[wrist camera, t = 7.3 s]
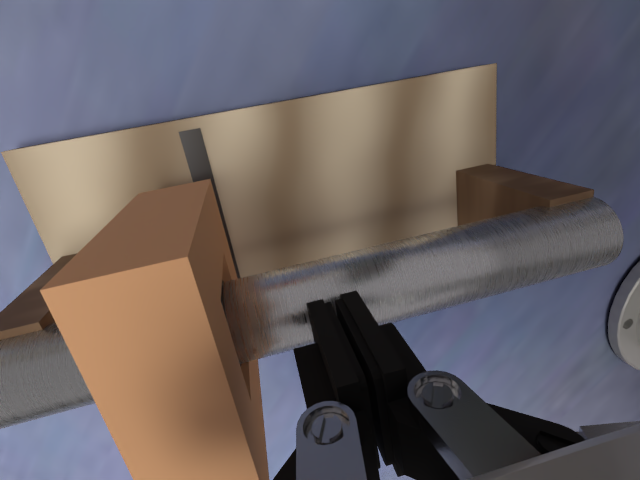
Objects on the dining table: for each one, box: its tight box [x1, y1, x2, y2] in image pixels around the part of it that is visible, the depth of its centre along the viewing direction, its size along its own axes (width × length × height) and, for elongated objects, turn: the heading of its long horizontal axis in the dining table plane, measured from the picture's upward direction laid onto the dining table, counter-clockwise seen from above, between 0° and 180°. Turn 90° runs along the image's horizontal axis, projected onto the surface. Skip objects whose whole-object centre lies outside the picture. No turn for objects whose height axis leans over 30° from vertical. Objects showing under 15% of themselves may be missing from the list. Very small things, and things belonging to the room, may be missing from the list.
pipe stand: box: [0, 63, 594, 340], centre depth 18 cm, size 24×14×8 cm, turn 99°
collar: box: [40, 179, 269, 480], centre depth 14 cm, size 3×9×9 cm, turn 9°
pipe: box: [0, 197, 623, 429], centre depth 15 cm, size 23×3×3 cm, turn 99°
